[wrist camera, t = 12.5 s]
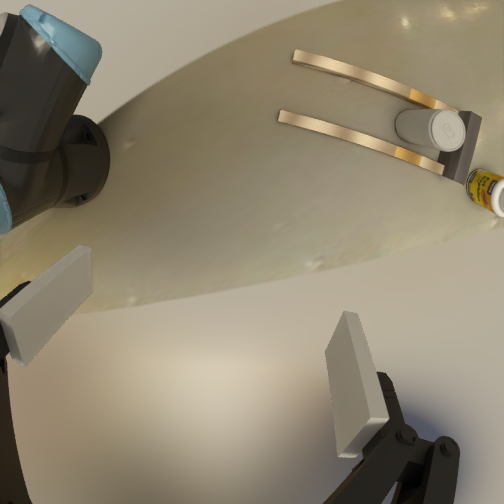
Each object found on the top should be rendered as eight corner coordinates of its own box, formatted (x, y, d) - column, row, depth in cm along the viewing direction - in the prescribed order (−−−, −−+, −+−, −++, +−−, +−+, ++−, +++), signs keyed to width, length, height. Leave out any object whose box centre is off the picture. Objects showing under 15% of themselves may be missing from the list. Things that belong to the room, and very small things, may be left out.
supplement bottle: (468, 164, 39) (507, 178, 29) (493, 172, 38) (531, 187, 29) (462, 198, 41) (497, 219, 32) (486, 205, 41) (522, 225, 31)
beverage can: (408, 103, 37) (449, 100, 26) (429, 128, 38) (473, 134, 27) (387, 124, 38) (422, 126, 27) (408, 149, 39) (448, 161, 28)
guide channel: (278, 121, 40) (277, 120, 34) (294, 53, 36) (296, 43, 30) (444, 176, 40) (464, 185, 34) (460, 116, 36) (481, 117, 30)
